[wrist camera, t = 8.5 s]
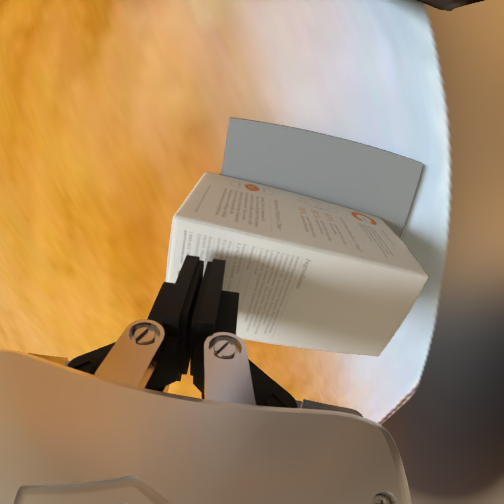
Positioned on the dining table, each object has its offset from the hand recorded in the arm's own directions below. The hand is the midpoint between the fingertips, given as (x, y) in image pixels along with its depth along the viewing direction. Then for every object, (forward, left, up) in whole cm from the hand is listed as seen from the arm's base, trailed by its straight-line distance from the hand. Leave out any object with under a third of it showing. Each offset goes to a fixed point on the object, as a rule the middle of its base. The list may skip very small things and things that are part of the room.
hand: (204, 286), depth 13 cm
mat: (+1, +7, -10) cm, 12 cm away
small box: (0, -2, -5) cm, 5 cm away
